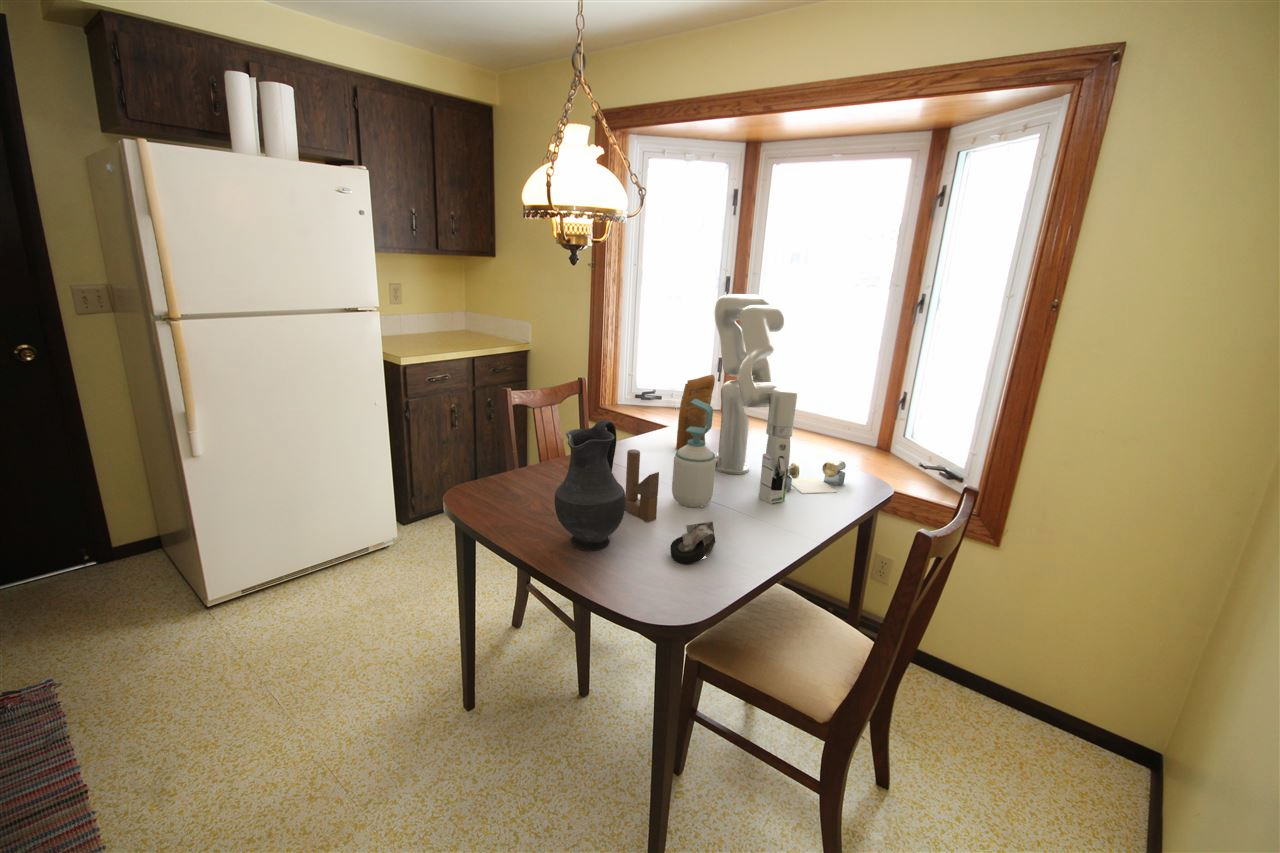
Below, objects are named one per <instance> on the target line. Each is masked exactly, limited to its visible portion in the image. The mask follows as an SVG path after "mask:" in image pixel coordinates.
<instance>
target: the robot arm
mask: <svg viewBox="0 0 1280 853" xmlns="http://www.w3.org/2000/svg"><path fill="white" fill-rule="evenodd" d="M713 308H714V310H713V316H714V323H715V326H716V329H717V332H718V336H719V341H720V353H721V364H722V370H723V373H725V375H727V376H730V377H738V378H737V379H731V380H728V381H726V382H725V383H723V384H722V385H721V388H720V402H721V418H720V419H721V421H720V429H719V439H718V440H719V441H718V451H717V452H716V453H715V458H716V466H715V471H717V472H720V473H723V474H726V475H727V474H728V475H741V474H742V475H743V474H745V473H748V472H749V470H750V466H749V464H748V463H746V459H747V458H746V457H747V449H748V448H747V446H748V437H749V428H750V427H749V425H750V420H749V417H748V415H747V413H746V412H745V409H747V408H751V409H752V408H768V412H767V413H768V415H767V423H766V432H765V433H766V434H767V441H766V449H765V454H768V455H769V456H770V464H771V467H772V468H773V469H774V472H773V475H774V477H772V484H771V490H776V491H781V490H782V485H783V478H784V472H785V469H786V470H787V469H788V468H789V466H790V454H791V437H793V430H794V424H795V423H794V422H795V415H796V409H797V399H798V393H797V391H796V390H795V389H792V388H789V387H787V386H786V385H785V384H784V383H782V382H778V381H777V382H772V378H771V367H770V361H769V356H771V355H772V354H773V352H774V351H775V350H774V349H775V347H774V343H773V339H772V334H771V333H774V332H775V333H776V332H777V333H778V332H780V331H781V330H782V329H783V327H784V326H785V319H786V318H785V313H784V312H783V309H782V308H781V307H780V306H779V304H777V303H775V302H774V301H772V300H771V299H769V298H768V297H766V296H764V295H761V294H743V293H733V294H731V293H730V294H724V295H722V296H720V297H718V298H717V300H716V301H715V304H714V307H713ZM737 321H739V323H740V325H739V324H738V323H737ZM776 465H778V466H779V468H776ZM776 470H779V472H777V473H776Z"/></svg>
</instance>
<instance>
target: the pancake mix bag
mask: <svg viewBox="0 0 1280 853" xmlns="http://www.w3.org/2000/svg"><path fill="white" fill-rule="evenodd" d="M715 380H716V379H715V375H714V374H710V375H709V374H708V375H704V376H701V377H698V378H694V379H689V380H687V383H685V384H684V389H683V392H682V397H681V402H680V405H679V412H678V422H677V431H676V434H677V435H676V445H675V450H679V449H680V448H682V447H684V446H686V445H687V442H688V440H690V439H693V436H692V435H691V433H688V432H686V429H688V428H689V427H691V426H693V427H700V428H706V421H707V414H706V411H704V410H703V409H701V408H698V407H696V406H694V405H692V404H691V401H692V400H694V399H698V400H700V401H702V402H705V403H707V404H709V405H710V406H711V405H712V397H713V392H714V387H715V382H716V381H715ZM700 440H703V441H705V442H706V434H704V435H703V436H701V437H700Z"/></svg>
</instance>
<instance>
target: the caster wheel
mask: <svg viewBox="0 0 1280 853" xmlns="http://www.w3.org/2000/svg"><path fill="white" fill-rule="evenodd" d="M685 529H686V532H685V533H683V534H682V536H679V537H677V538H675V539H674V540H673V541H672V542H671V544H670V545H669V546H670V547H669V550H670V554H671V555H670V556H671V559H672V558H673V559H672V560H673V561H674V562H675V561H676V562H675V563H677V562H678V563H677V564H679V563H680V565H683V564H684V566H687V565H689V566H690V565H695V564H696V563H699V562H700V561H702V560H703V559H702V558H703V557H704V556H706V557H707V558H708V557H710V555H711V553H712V552H713V550H714V547H715V544H716V542H717V541H716V535H715V527H714V521H706V522H699V523H692V524H686V526H685ZM701 559H702V560H701Z"/></svg>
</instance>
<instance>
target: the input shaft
mask: <svg viewBox="0 0 1280 853" xmlns="http://www.w3.org/2000/svg"><path fill="white" fill-rule="evenodd" d="M799 477H800V467H799V465H798V463H796V462H793V463H791V464H790V465H789V468H788V475H787V484H786V491H791V489H792V488H791V487H792V485H791V482H792V479H797V478H799Z"/></svg>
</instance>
